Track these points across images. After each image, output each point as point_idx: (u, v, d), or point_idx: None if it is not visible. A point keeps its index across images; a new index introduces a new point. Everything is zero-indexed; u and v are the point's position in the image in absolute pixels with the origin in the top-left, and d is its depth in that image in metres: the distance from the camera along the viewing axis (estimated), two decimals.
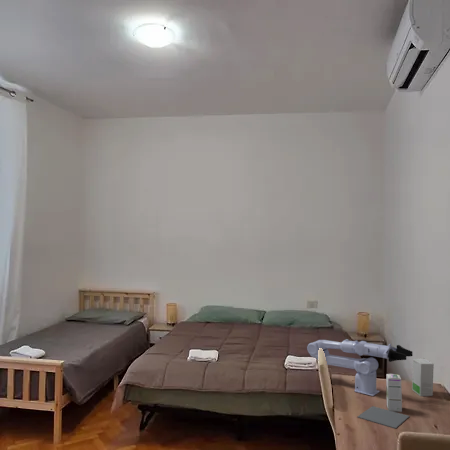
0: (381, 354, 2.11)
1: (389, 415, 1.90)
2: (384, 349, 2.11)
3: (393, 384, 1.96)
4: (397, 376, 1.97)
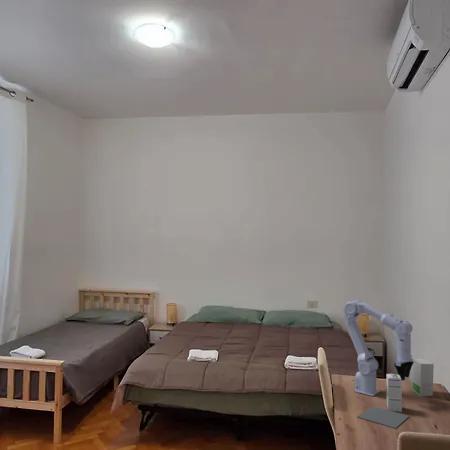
0: (400, 353, 2.06)
1: (389, 415, 1.90)
2: (405, 357, 2.04)
3: (393, 384, 1.96)
4: (397, 376, 1.97)
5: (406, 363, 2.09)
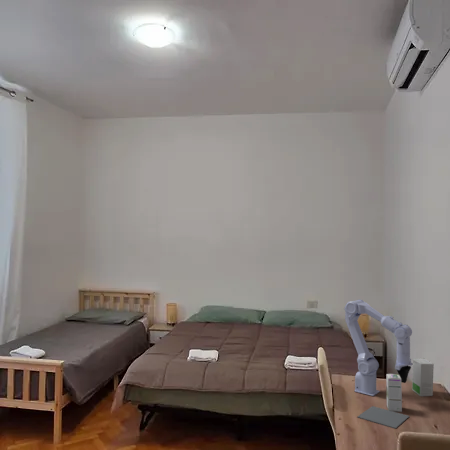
0: (399, 357, 2.05)
1: (389, 415, 1.90)
2: (405, 360, 2.04)
3: (393, 384, 1.96)
4: (397, 376, 1.97)
5: None
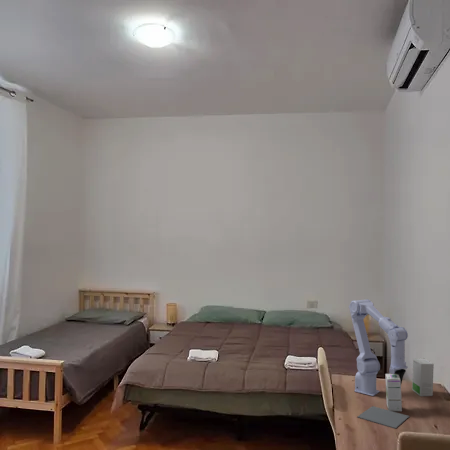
0: (393, 360, 2.00)
1: (389, 415, 1.90)
2: (399, 364, 1.99)
3: (392, 385, 1.94)
4: (396, 376, 1.96)
5: None
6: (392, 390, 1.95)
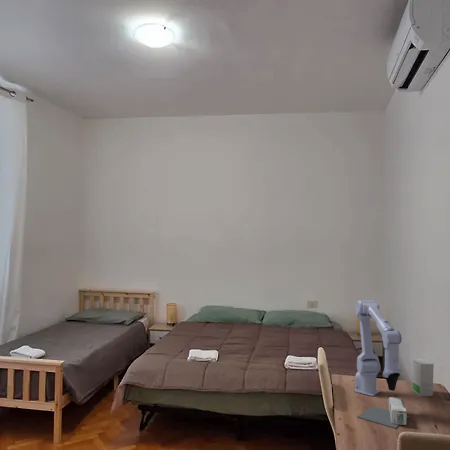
0: (387, 363, 1.95)
1: (389, 415, 1.90)
2: (393, 367, 1.94)
3: None
4: (403, 419, 1.81)
5: None
6: None
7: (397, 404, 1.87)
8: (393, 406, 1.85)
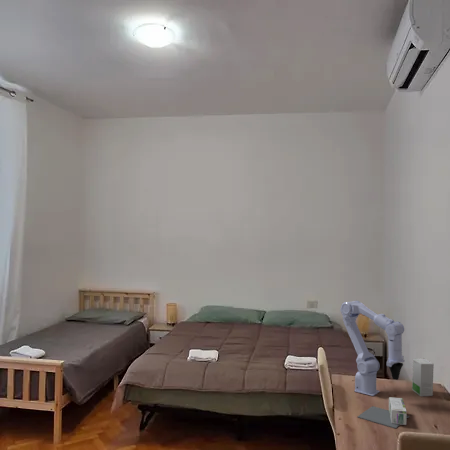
0: (391, 353, 2.05)
1: (389, 415, 1.90)
2: (396, 357, 2.04)
3: None
4: (403, 419, 1.81)
5: None
6: None
7: (397, 404, 1.87)
8: (393, 406, 1.85)
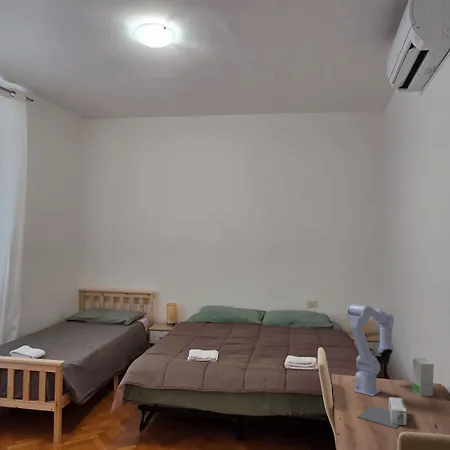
0: (382, 341, 2.28)
1: (389, 415, 1.90)
2: (387, 344, 2.26)
3: None
4: (403, 419, 1.81)
5: None
6: None
7: (397, 404, 1.87)
8: (393, 406, 1.85)
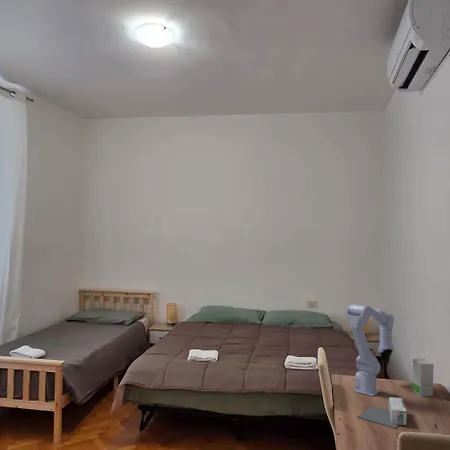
0: (382, 341, 2.28)
1: (389, 415, 1.90)
2: (387, 344, 2.26)
3: None
4: (403, 419, 1.81)
5: None
6: None
7: (397, 404, 1.87)
8: (393, 406, 1.85)
